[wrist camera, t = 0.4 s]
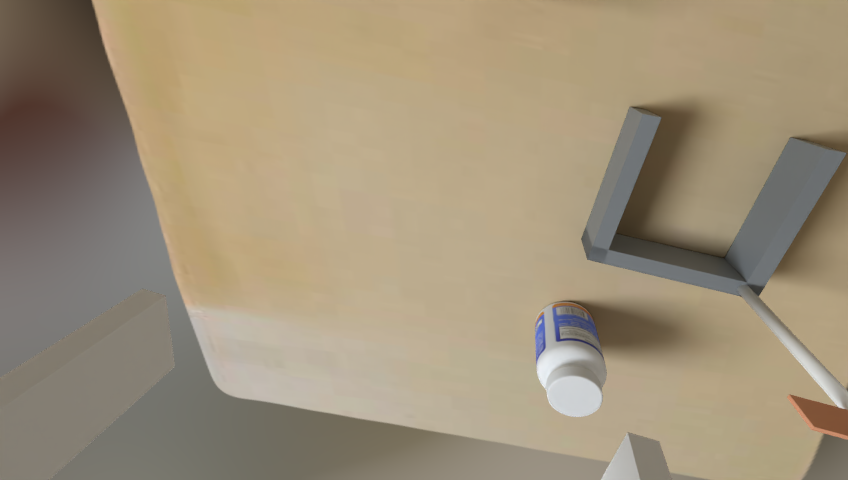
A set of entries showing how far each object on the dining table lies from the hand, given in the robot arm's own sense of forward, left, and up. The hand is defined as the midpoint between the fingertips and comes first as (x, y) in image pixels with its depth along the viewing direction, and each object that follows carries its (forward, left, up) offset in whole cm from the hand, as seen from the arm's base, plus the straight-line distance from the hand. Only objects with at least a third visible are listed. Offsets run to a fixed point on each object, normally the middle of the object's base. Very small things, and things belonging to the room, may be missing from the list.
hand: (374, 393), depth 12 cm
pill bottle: (+13, +12, -27) cm, 32 cm away
